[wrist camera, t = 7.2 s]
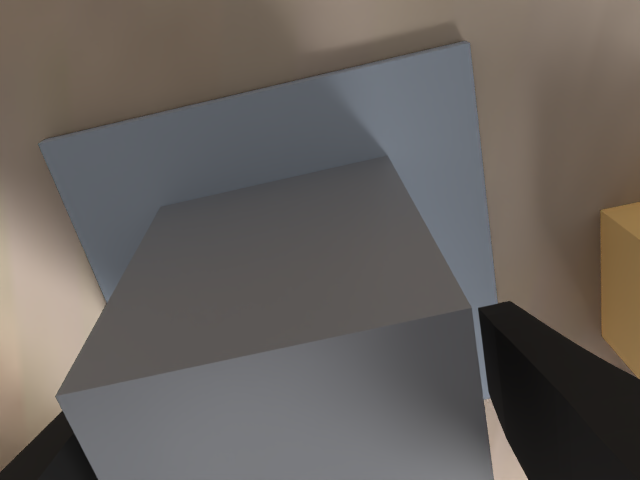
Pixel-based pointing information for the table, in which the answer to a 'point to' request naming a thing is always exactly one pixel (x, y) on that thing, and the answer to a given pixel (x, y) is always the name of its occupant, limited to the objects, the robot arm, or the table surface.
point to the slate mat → (293, 158)
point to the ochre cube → (621, 282)
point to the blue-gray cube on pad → (285, 343)
